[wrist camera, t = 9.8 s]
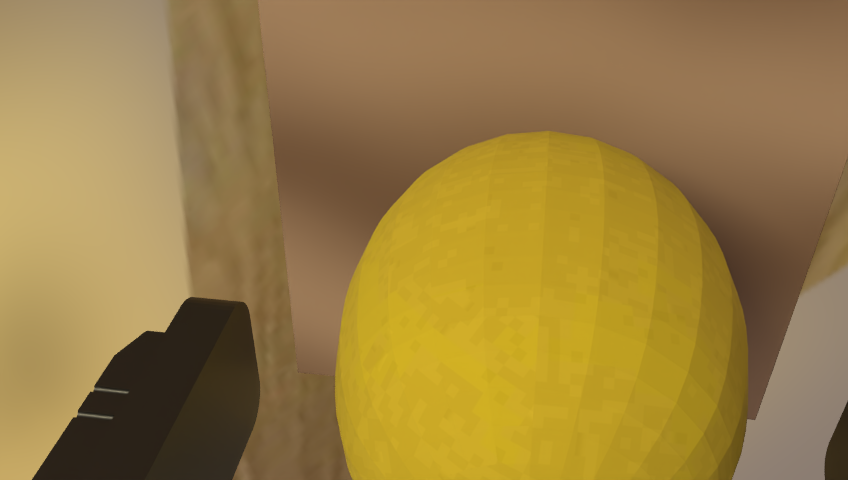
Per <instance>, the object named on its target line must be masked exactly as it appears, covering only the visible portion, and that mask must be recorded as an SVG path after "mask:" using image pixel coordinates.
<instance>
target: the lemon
mask: <svg viewBox="0 0 848 480" xmlns="http://www.w3.org/2000/svg"><path fill="white" fill-rule="evenodd" d="M335 401H336V414H337V420H338V424H339V429H340V434H341V438H342V443H343V447H344V452H345V456H346V461H347V465H348V470H349V472H350V475H351V477H352V479H353V480H732V477H733V475H734V472H735V469H736V466H737V464H738V461H739V458H740V455H741V452H742V447H743V442H744V437H745V432H746V423H747V413H748V343H747V330H746V324H745V319H744V313H743V309H742V306H741V303H740V300H739V296H738V293H737V291H736V288H735V285H734V282H733V280H732V277H731V274H730V271H729V269H728V266H727V263H726V260H725V258H724V255H723V252H722V250H721V248H720V246H719V244H718V242H717V240H716V238H715V236H714V235H713V233H712V232H711V230H710V229H709V227H708V226H707V224H706V223H705V222H704V221H703V219H702V218H701V217H700V215H699V214H698V213H697V212H696V210H695V209H694V208H693V206H692V205H691V204H690V203H689V201H688V200H687V199H686V197H685V196H684V195H683V194H682V192H681V191H680V190H679V189H678V188H677V187H676V186H675V185H674V184H673V183H672V182H671V181H669V180H668V179H667V178H665V177H664V176H662V175H661V174H660V173H658V172H657V171H656V170H654V169H653V168H651V167H650V166H649V165H647V164H646V163H645V162H643V161H642V160H640V159H639V158H638V157H636V156H634V155H632V154H631V153H628V152H626V151H624V150H621V149H619V148H616V147H614V146H611V145H609V144H606V143H604V142H601V141H599V140H596V139H594V138H592V137H585V136H579V135H572V134H566V133H559V132H553V131H541V132H529V133H516V134H506V135H503V136H499V137H496V138H493V139H490V140H487V141H484V142H480V143H477V144H474V145H471V146H468V147H466V148H464V149H462V150H460V151H458V152H456V153H455V154H453V155H452V156H450V157H448V158H447V159H445V160H443V161H442V162H440V163H438V164H437V165H435V166H433V167H432V168H430V169H429V170H427V171H425V172H424V173H423V174H422V175H421V176H420V177H419V178H418V179H417V180H416V181H415V182H414V183H413V184H412V185H411V186H410V187H409V188H408V189H407V190H406V191H405V193H404V194H403V195H402V196H401V197H400V198H399V199H398V200H397V201H396V202H395V203H394V204H393V205H392V207H391V208H390V209H389V210H388V211H387V213H386V214H385V215H384V216H383V218H382V219H381V221H380V222H379V224H378V226H377V227H376V229H375V231H374V233H373V235H372V237H371V239H370V241H369V243H368V245H367V247H366V249H365V251H364V253H363V255H362V257H361V259H360V261H359V263H358V265H357V268H356V270H355V272H354V274H353V277H352V279H351V281H350V284H349V288H348V291H347V295H346V298H345V303H344V308H343V314H342V320H341V327H340V335H339V343H338V350H337V360H336V371H335Z"/></svg>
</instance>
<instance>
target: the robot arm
mask: <svg viewBox="0 0 848 480" xmlns="http://www.w3.org/2000/svg"><path fill="white" fill-rule="evenodd" d="M94 387H95V388H94V391H93V392H90V393H89V395H88V396H87V398H86V399H85V401H84V402H83V404H82V405H81V407H80V408H79V410H78V415H77V417H76V418H73V419H72V420H71V422H70V423H69V425H68V426H67V428H66V429H65V431H64V432H63V434H62V435H61V437H60V438H59V440H58V441H57V443H56V444H55V446H54V447H53V449H52V450H51V452H50V453H49V455H48V456H47V458H46V459H45V461H44V462H43V464H42V465H41V467H40V468H39V470H38V471H37V473H36V474H35V476H34V477H33V479H32V480H232V479H233V476H234V474H235V471H236V469H237V466H238V464H239V462H240V459H241V457H242V454H243V452H244V449H245V447H246V444H247V442H248V440H249V437H250V435H251V432H252V430H253V427H254V424H255V421H256V417H257V413H258V407H259V399H260V381H259V374H258V367H257V360H256V354H255V347H254V340H253V334H252V327H251V320H250V314H249V310H248V307H247V305H246V304H245V303H244V302H238V301H227V300H217V299H206V298H196V297H190V298H188V299H186V300H185V301H184V303H183V304H182V305H181V307H180V309H179V310H178V312H177V314H176V315H175V317H174V319H173V320H172V322H171V323H170V325H169V327H168V328H167V330H166V332H165V333H163V332H154V331H146V332H144V333H143V334H142V335H140V336H139V337H138V338H136V339H135V340H134V341H133V342H131V343H130V344H129V345H127V346H126V347H125V348H124V349H122V350H121V351H120V352H118V353H117V354H116V355H114V357H113V359H112V360H111V362H110V363H109V365H108V366H107V368H106V369H105V371H104V372H103V374H102V375H101V377H100V378H99V380H98V381H97V383H96V384H95V386H94ZM825 480H848V402H847V404H846V407H845V409H844V411H843V413H842V415H841V418H840V420H839V422H838V424H837V427H836V429H835V431H834V433H833V436H832V438H831V440H830V442H829V445H828V448H827V452H826V458H825Z"/></svg>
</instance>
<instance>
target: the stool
mask: <svg viewBox="0 0 848 480" xmlns="http://www.w3.org/2000/svg"><path fill="white" fill-rule="evenodd" d="M258 7H259V16H260V25H261V34H262V44H263V53H264V62H265V71H266V81H267V90H268V99H269V108H270V118H271V127H272V136H273V145H274V155H275V164H276V173H277V182H278V192H279V201H280V210H281V219H282V229H283V238H284V247H285V256H286V266H287V275H288V284H289V293H290V303H291V312H292V321H293V330H294V340H295V349H296V358H297V367H298V372H300V373H309V374H319V375H329V376H335V371H336V360H337V350H338V343H339V335H340V327H341V320H342V314H343V308H344V303H345V298H346V295H347V291H348V288H349V284H350V281H351V279H352V277H353V274H354V272H355V270H356V268H357V265H358V263H359V261H360V259H361V257H362V255H363V253H364V251H365V249H366V247H367V245H368V243H369V241H370V239H371V237H372V235H373V233H374V231H375V229H376V227H377V226H378V224H379V222H380V221H381V219H382V218H383V216H384V215H385V214H386V213H387V211H388V210H389V209H390V208H391V207H392V205H393V204H394V203H395V202H396V201H397V200H398V199H399V198H400V197H401V196H402V195H403V194H404V193H405V191H406V190H407V189H408V188H409V187H410V186H411V185H412V184H413V183H414V182H415V181H416V180H417V179H418V178H419V177H420V176H421V175H422V174H423V173H424V172H425V171H427V170H429V169H430V168H432V167H433V166H435V165H437V164H438V163H440V162H442V161H443V160H445V159H447V158H448V157H450V156H452V155H453V154H455V153H456V152H458V151H460V150H462V149H464V148H466V147H468V146H471V145H474V144H477V143H480V142H484V141H487V140H490V139H493V138H496V137H499V136H503V135H506V134H516V133H529V132H541V131H553V132H559V133H566V134H572V135H579V136H585V137H592V138H594V139H596V140H599V141H601V142H604V143H606V144H609V145H611V146H614V147H616V148H619V149H621V150H624V151H626V152H628V153H631V154H632V155H634V156H636V157H638V158H639V159H640V160H642V161H643V162H645V163H646V164H647V165H649V166H650V167H651V168H653V169H654V170H656V171H657V172H658V173H660V174H661V175H662V176H664V177H665V178H667V179H668V180H669V181H671V182H672V183H673V184H674V185H675V186H676V187H677V188H678V189H679V190H680V191H681V192H682V194H683V195H684V196H685V197H686V199H687V200H688V201H689V203H690V204H691V205H692V206H693V208H694V209H695V210H696V212H697V213H698V214H699V215H700V217H701V218H702V219H703V221H704V222H705V223H706V224H707V226H708V227H709V229H710V230H711V232H712V233H713V235H714V236H715V238H716V240H717V242H718V244H719V246H720V248H721V250H722V252H723V255H724V258H725V260H726V263H727V266H728V269H729V271H730V274H731V277H732V280H733V282H734V285H735V288H736V291H737V293H738V296H739V300H740V303H741V306H742V309H743V313H744V319H745V324H746V330H747V343H748V413H747V419H752V420H755V419H756V416H757V413H758V411H759V408H760V405H761V402H762V399H763V396H764V394H765V391H766V388H767V385H768V382H769V379H770V376H771V374H772V371H773V368H774V365H775V362H776V359H777V357H778V354H779V351H780V348H781V345H782V342H783V340H784V336H785V333H786V331H787V328H788V325H789V322H790V319H791V317H792V314H793V311H794V308H795V306H796V303H797V300H798V297H799V294H800V291H801V289H802V286H803V283H804V280H805V277H806V274H807V271H808V269H809V266H810V263H811V260H812V257H813V254H814V252H815V249H816V246H817V243H818V240H819V237H820V235H821V232H822V229H823V226H824V223H825V220H826V218H827V215H828V212H829V209H830V206H831V203H832V200H833V198H834V195H835V192H836V189H837V186H838V183H839V181H840V178H841V175H842V172H843V169H844V166H845V164H846V161H847V158H848V0H258Z"/></svg>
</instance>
